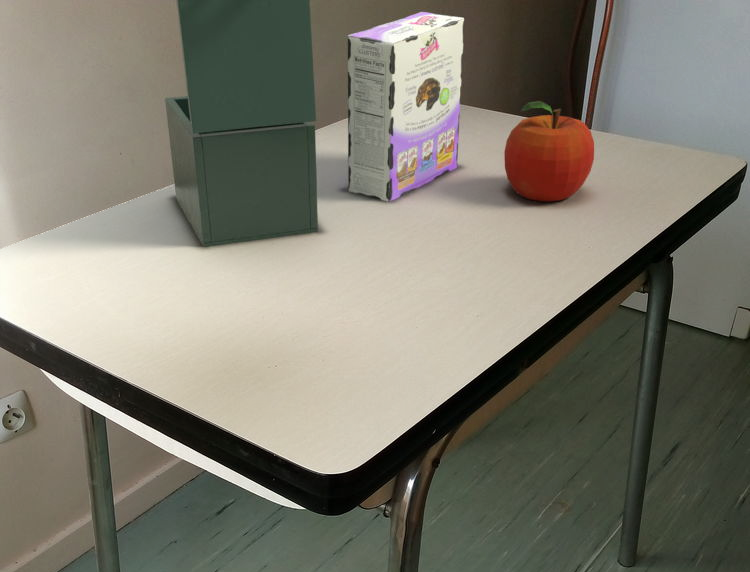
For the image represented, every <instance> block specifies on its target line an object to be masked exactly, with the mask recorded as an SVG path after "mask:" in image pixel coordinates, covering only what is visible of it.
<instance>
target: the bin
mask: <svg viewBox="0 0 750 572" xmlns="http://www.w3.org/2000/svg"><path fill="white" fill-rule="evenodd" d="M164 102H165V111H166V118H167V119H166V121H167V129H168V134H169V135H168V136H169V145H170V146H169V148H170V155H171V163H172V173H173V182H174V191H175V199H176V201H177V203H178V205H179V207H180V208H181V210H182V211H183V213H184V215H185V217H186V219H187V220H188V222H189V224H190V226H191V227H192V229H193V231H194V233H195V235H196V236H197V238H198V239H199V241H200V244H201V245H202V247H203V248H206V247H214V246H215V247H216V246H221V245H231V244H239V243H244V242H251V241H260V240H261V241H262V240H268V239H274V238H283V237H290V236H299V235H305V234H312V233H319V217H318V216H319V215H318V212H319V211H318V183H317V182H318V181H317V179H318V178H317V177H318V176H317V144H316V143H317V141H316V125H315V124H314V122H303V123H293V124H283V125H273V126H263V127H253V128H243V129H233V130H223V131H213V132H203V133H193V132H192V130H191V122H190V113H189V105H188V96H187V95H185V96H184V95H181V96H174V97H165V98H164Z"/></svg>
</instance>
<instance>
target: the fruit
mask: <svg viewBox="0 0 750 572" xmlns="http://www.w3.org/2000/svg"><path fill="white" fill-rule="evenodd" d="M531 109H544V110H545V111H546V110H547V111H549V112H550V113H551V114H546V115H545V114H544V115H537V116H531V117H527V118H524V119H521V121H520V122H518V124H517V125H516V126H515V127H514V128H513V129H512V130H510V133H509V135H508V137H507V139H506V142H505V147H504V152H503V153H504V154H503V155H504V170H505V174H506V177H507V180H508V182H509V183H510V186H511V187H512V189H513V190H514V191H515V193H517V194H518V195H520V196H521V197H523V198H525V199H527V200H531V201H536V202H542V203H552V202H553V203H554V202H559V201H563V200H565V199H568V198H570V197H572V196H574V194H575V193H576V192H578V191H579V189H581V187H582V186H583V185H584V183H585V182H586V180H587V178H588V177H589V175H590V173H591V170H592V167H593V165H594V161H595V141H594V137H593V135H592V131H591V130H590V129H589V127H588V125H586V123H585V122H583V120H580V119H578V118H577V119H576V118H573V117H570V116H566V115H561V111H562V108H556V109H553V110H552V108H551V105H549V104H547V103H546V102H543V101H540V100H536V101H530V102H527V103H526V104H524V105H523V106H522V108H521V110H520V111H519V112H520V113H522V112H526V111H528V110H531Z"/></svg>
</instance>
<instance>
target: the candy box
mask: <svg viewBox="0 0 750 572" xmlns="http://www.w3.org/2000/svg"><path fill="white" fill-rule="evenodd" d="M464 32H465V18H464V17H460V16H453V15H448V14H438V13H433V12H426V11H420V12H417V13H414V14H411V15H408V16H405V17H402V18H400V19H396V20H393V21H390V22H387V23H383V24H380V25H377V26H374V27H371V28H367V29H364V30H362V31H357V32H354V33H351V34H347V133H348V134H347V166H348V167H347V169H348V171H347V174H348V175H347V176H348V181H347V182H348V183H347V184H348V189H347V190H348V192H350V193H353V194H358V195H361V196H365V197H369V198H372V199H375V200H376V199H377V200H380V201H383V202H391V201H392V202H393V201H394V200H396V199H399V198H400V197H402V196H404V195H406V194H408V193H411V192H413V191H415V190H417V189H418V188H421V187H422V186H424V185H426V184H428V183H430V182H432V181H433V180H435V179H438V178H440V177H441V176H443V175H446V174H448V173H449V172H452V171H454V170H456V169H458V160H459V159H458V158H459V157H458V155H459V138H460V137H459V133H460V112H461V95H462V75H463V57H464V34H465V33H464Z"/></svg>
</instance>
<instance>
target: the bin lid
mask: <svg viewBox="0 0 750 572" xmlns="http://www.w3.org/2000/svg"><path fill="white" fill-rule="evenodd" d="M175 2H176V11H177V17H178V18H177V20H178V26H179V27H178V28H179V35H180V44H181V51H182V52H181V53H182V60H183V61H182V62H183V69H184V78H185V79H184V80H185V86H186V94H187V95H186V96H188V105H189V113H190V122H191V130H192V132H193V133H203V132H213V131H223V130H233V129H243V128H253V127H263V126H273V125H283V124H293V123H303V122H312V123H314V122H317V109H316V96H315V95H316V91H315V74H314V73H315V71H314V56H313V36H312V18H311V0H176V1H175Z"/></svg>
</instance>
